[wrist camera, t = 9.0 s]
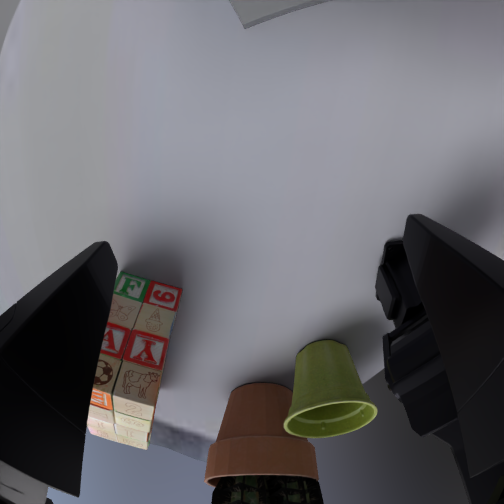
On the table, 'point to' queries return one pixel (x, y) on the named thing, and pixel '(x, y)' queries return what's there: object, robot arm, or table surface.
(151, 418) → the stack of blocks
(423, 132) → the table surface
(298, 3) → the dock
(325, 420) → the plant pot
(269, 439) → the potted plant
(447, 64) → the table surface
